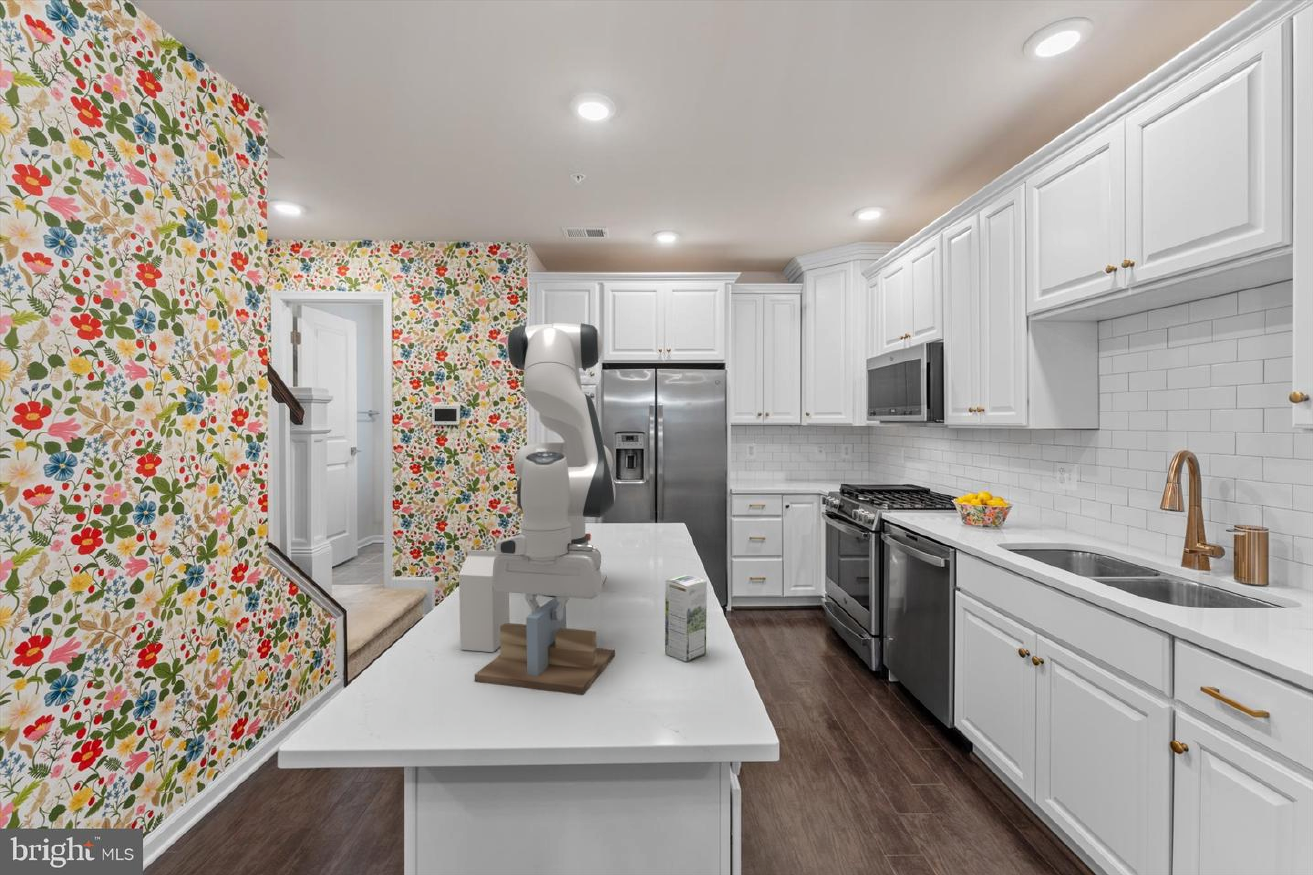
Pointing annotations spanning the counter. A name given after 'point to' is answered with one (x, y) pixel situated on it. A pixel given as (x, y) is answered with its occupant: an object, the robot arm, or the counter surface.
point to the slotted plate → (541, 636)
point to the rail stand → (567, 661)
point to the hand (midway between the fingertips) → (547, 618)
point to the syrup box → (685, 617)
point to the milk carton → (481, 603)
